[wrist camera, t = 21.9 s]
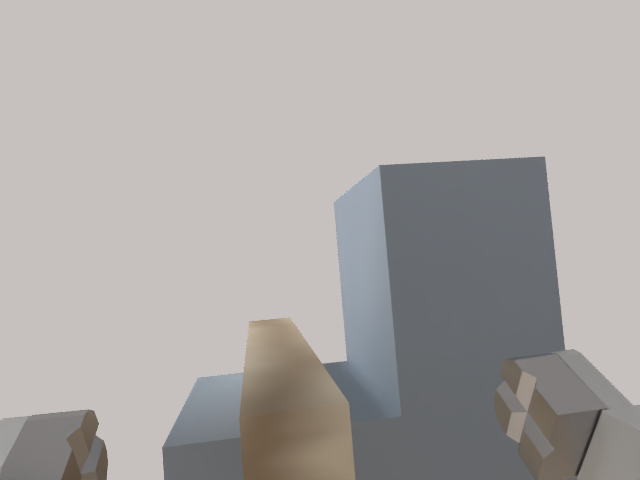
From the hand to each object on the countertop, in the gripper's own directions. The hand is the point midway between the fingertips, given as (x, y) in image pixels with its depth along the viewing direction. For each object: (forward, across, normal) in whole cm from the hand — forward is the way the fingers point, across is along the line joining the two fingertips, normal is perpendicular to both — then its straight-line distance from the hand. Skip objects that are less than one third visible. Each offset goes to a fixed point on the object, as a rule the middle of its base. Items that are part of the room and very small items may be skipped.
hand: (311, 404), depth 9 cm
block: (+10, 0, +11) cm, 15 cm away
